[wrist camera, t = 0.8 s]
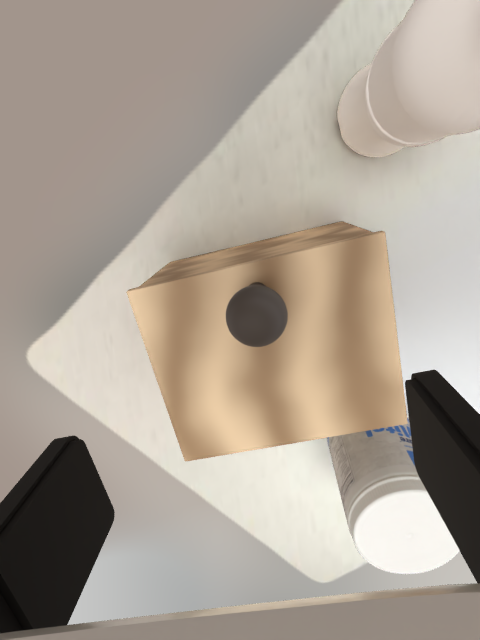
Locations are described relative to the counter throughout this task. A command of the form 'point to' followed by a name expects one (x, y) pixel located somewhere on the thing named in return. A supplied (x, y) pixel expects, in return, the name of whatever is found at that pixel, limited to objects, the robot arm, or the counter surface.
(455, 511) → the robot arm
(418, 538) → the supplement tub
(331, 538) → the counter surface
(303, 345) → the lid
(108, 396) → the counter surface
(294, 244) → the wooden box
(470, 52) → the water bottle
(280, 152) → the counter surface
